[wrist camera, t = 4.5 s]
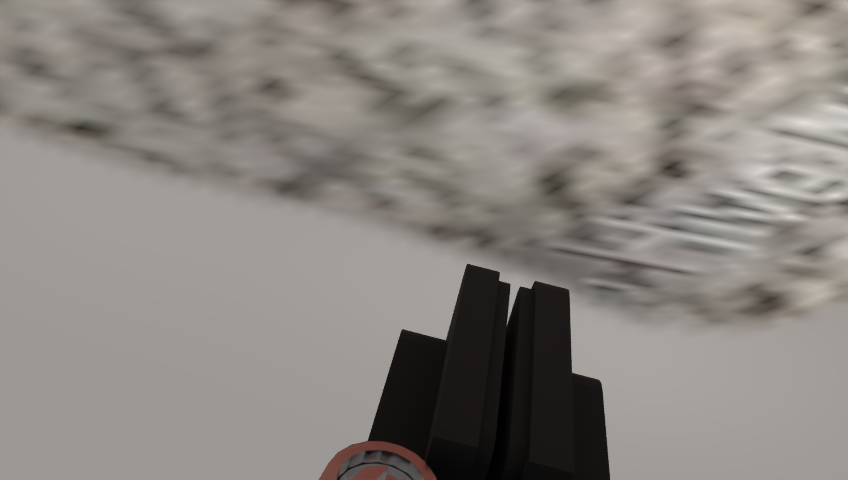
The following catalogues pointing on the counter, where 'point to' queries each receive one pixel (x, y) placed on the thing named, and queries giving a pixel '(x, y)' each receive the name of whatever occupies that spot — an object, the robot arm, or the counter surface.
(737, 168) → the counter surface
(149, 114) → the counter surface
